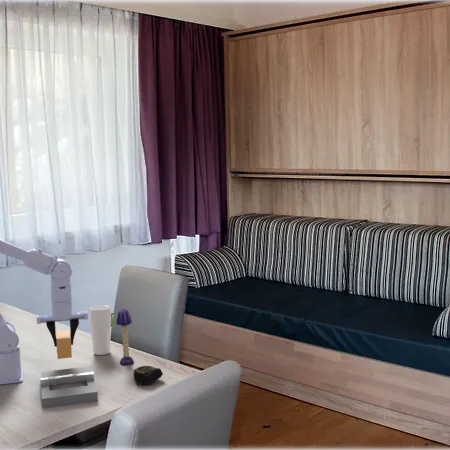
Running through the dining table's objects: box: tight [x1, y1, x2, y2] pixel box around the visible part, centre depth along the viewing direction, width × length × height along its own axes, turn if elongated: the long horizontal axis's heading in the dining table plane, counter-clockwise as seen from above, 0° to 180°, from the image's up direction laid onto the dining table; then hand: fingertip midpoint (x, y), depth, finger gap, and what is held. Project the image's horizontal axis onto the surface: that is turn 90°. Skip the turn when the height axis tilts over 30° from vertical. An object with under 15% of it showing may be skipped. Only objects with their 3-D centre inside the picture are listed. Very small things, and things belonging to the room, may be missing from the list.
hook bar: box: [40, 371, 95, 386], centre depth 175 cm, size 14×2×2 cm, turn 107°
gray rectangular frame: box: [40, 365, 99, 409], centre depth 175 cm, size 14×20×2 cm
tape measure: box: [133, 365, 164, 385], centre depth 181 cm, size 7×7×4 cm
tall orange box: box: [56, 330, 73, 360], centre depth 189 cm, size 4×7×6 cm, turn 17°
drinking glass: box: [88, 304, 112, 356], centre depth 204 cm, size 7×7×15 cm
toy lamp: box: [116, 308, 135, 366], centre depth 195 cm, size 5×5×17 cm
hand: (63, 344), depth 189 cm, fingers closed on tall orange box, 4 cm apart
